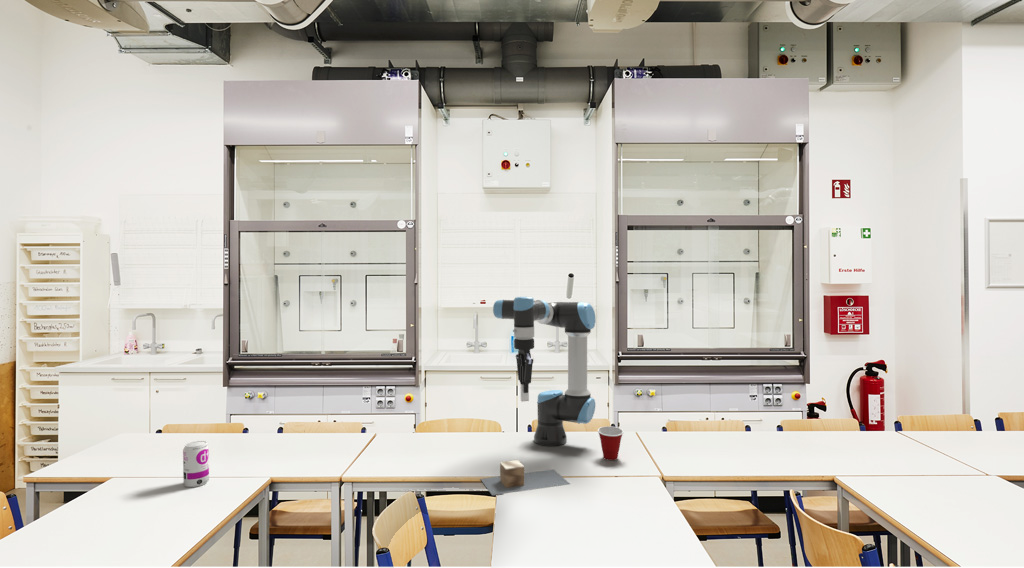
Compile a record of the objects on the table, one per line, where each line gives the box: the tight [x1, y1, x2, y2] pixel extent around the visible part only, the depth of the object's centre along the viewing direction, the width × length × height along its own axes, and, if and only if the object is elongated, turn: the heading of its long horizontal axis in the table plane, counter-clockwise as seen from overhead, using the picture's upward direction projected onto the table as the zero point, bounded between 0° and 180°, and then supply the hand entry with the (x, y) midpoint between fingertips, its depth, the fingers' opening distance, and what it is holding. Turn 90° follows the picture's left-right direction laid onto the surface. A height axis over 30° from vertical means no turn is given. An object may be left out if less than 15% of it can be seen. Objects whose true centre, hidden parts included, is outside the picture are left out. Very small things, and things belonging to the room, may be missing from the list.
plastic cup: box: [597, 425, 624, 461], centre depth 230 cm, size 11×11×12 cm
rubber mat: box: [479, 469, 571, 496], centre depth 204 cm, size 30×16×1 cm, turn 108°
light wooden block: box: [499, 459, 525, 488], centre depth 202 cm, size 7×7×7 cm
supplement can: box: [182, 440, 210, 488], centre depth 204 cm, size 8×8×15 cm
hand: (524, 400), depth 205 cm, fingers closed
